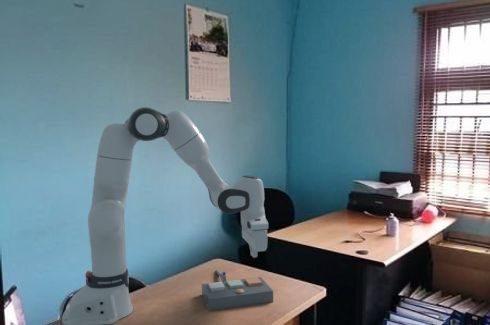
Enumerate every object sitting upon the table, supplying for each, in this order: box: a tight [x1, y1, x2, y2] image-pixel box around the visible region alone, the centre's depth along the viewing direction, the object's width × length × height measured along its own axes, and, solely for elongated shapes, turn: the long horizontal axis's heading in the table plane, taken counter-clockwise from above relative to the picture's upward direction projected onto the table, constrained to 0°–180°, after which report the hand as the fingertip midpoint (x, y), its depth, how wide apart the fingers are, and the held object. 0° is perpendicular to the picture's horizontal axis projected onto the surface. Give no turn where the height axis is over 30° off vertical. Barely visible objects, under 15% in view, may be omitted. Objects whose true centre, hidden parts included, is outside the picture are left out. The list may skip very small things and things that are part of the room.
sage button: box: [226, 279, 244, 289], centre depth 155 cm, size 5×5×3 cm
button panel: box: [201, 276, 274, 311], centre depth 153 cm, size 23×14×5 cm, turn 106°
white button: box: [208, 281, 225, 292], centre depth 153 cm, size 5×5×3 cm
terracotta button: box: [244, 277, 262, 287], centre depth 156 cm, size 5×5×3 cm
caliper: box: [215, 268, 227, 282], centre depth 172 cm, size 20×1×6 cm, turn 13°
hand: (254, 256), depth 156 cm, fingers closed
